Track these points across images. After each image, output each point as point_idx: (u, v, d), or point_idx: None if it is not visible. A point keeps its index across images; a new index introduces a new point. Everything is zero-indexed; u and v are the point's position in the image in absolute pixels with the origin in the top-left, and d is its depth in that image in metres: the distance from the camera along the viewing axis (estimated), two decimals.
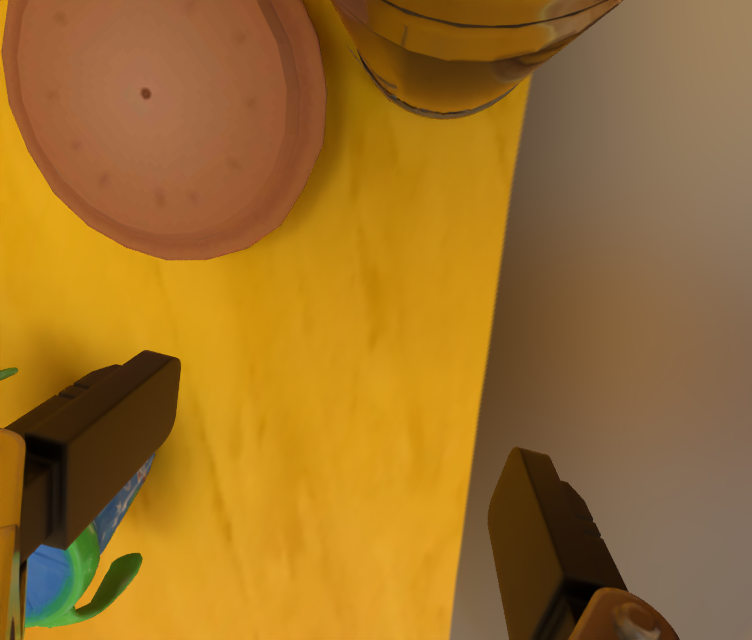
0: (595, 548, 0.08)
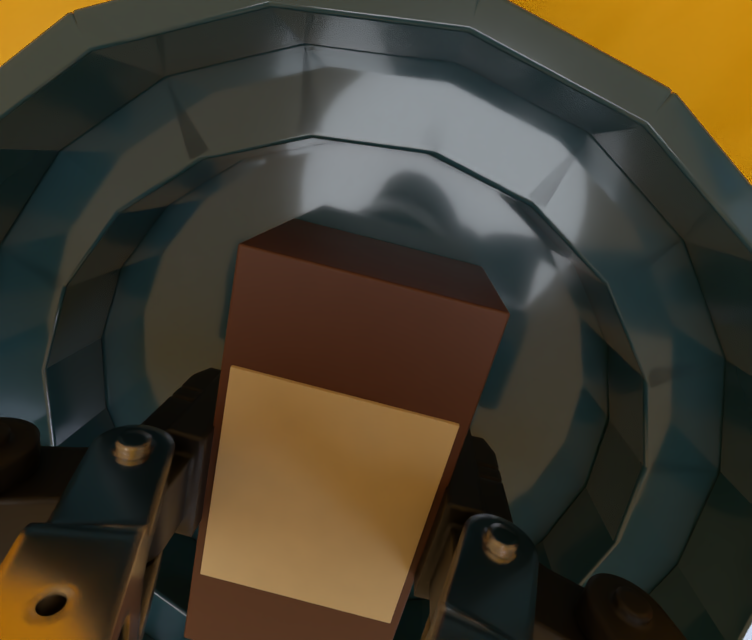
0: (493, 490, 0.09)
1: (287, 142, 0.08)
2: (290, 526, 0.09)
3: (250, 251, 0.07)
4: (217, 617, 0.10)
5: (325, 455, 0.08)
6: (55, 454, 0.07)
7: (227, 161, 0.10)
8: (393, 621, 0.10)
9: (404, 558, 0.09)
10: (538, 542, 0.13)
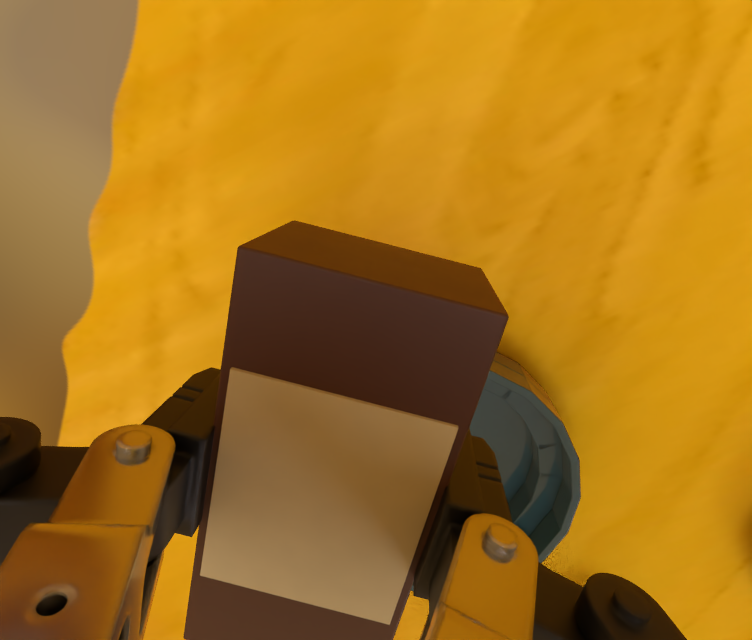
0: (492, 490, 0.09)
1: None
2: (290, 528, 0.09)
3: (249, 254, 0.07)
4: (217, 619, 0.10)
5: (324, 457, 0.08)
6: (57, 454, 0.07)
7: None
8: (392, 623, 0.10)
9: (403, 560, 0.09)
10: None
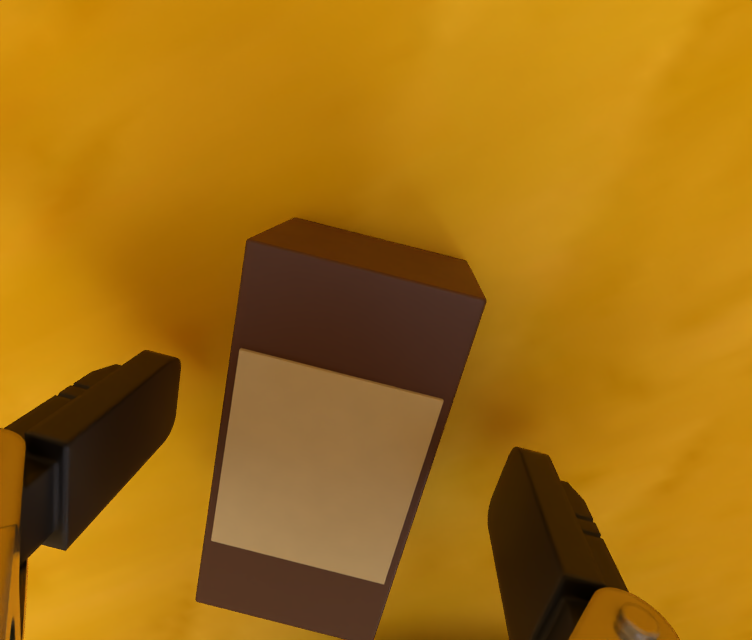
0: (595, 548, 0.08)
1: None
2: (293, 495, 0.10)
3: (257, 246, 0.08)
4: (226, 582, 0.11)
5: (323, 429, 0.09)
6: None
7: None
8: (386, 583, 0.10)
9: (396, 523, 0.10)
10: None
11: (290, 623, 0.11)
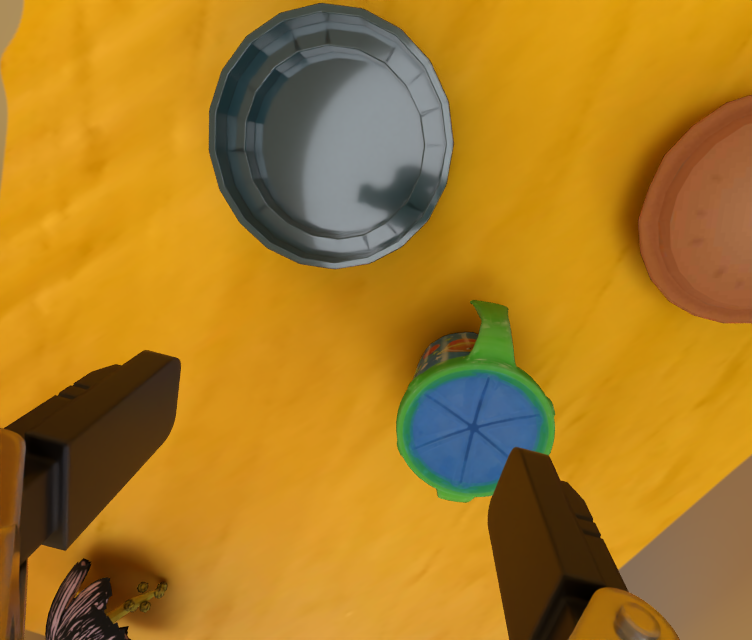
0: (595, 548, 0.08)
1: (321, 46, 0.31)
2: None
3: None
4: None
5: None
6: None
7: (302, 56, 0.33)
8: None
9: None
10: (406, 201, 0.36)
11: None
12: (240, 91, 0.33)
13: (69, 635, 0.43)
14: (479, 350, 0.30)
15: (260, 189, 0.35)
